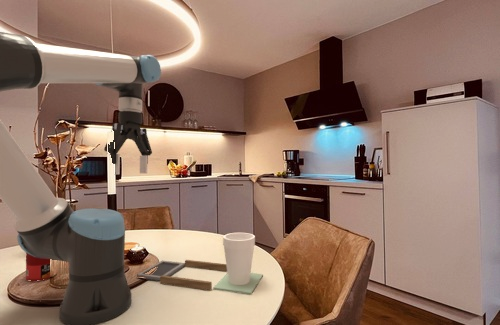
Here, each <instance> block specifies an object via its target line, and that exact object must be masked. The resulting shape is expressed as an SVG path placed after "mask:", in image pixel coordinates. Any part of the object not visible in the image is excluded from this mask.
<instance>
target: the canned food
mask: <svg viewBox="0 0 500 325" xmlns="http://www.w3.org/2000/svg"><path fill="white" fill-rule="evenodd" d="M25 278H26V280H27V281H28V280H31V281H37V280H43V279H47V280H49V279H48V278H50V259H42V258H38V257H34V256H32V255H30V254H28V253H26V252H25ZM50 279H51V278H50ZM31 281H30V282H31ZM43 281H44V280H43ZM37 282H38V281H37Z"/></svg>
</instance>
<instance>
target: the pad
mask: <svg viewBox="0 0 500 325" xmlns="http://www.w3.org/2000/svg"><path fill="white" fill-rule="evenodd" d="M262 276H263V277H264V274H263V273H257V272H256V273H254V272H251V274H250V282H248V283H247V284H244V285H233V284H231V283H229V281H228V274H227V273H226V274H225V275H224V276H223V277H221V279H220V280H219V281H218V282H217V283H216V284H215V285H214V286H213V288H212V289H213V290H214V291H215V290H217V291H222V292H230V293H237V294H245V295H251V296H252V295H253V292H254V291H255V289H256V288H257V286H258V285H259V283H260V281H261V280H262V278H263V277H262Z"/></svg>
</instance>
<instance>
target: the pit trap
mask: <svg viewBox="0 0 500 325" xmlns="http://www.w3.org/2000/svg"><path fill="white" fill-rule="evenodd" d="M157 266H158V268H157V270H156V271H155V272H154V273H153V274H152V275H148V274H145V273H147V272H149V271H150V270H151V269H153V268H155V267H157ZM183 268H186V267H185V262H178V261H170V260H161V261H159V262H157V263H155V264H153V265H151V266H150V267H148V268H146V269H145V270H143V271H140V272H139V273H137V274H136V278H137V277H146V281H154V282H158V283H160V276H162V275H164V276H172V277H173V275H175V274H176V273H177V272H179V271H181V270H182V269H183Z"/></svg>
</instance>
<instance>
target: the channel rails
mask: <svg viewBox="0 0 500 325" xmlns="http://www.w3.org/2000/svg"><path fill="white" fill-rule="evenodd" d="M184 263H185V267H184V268H194V269H201V270H202V269H203V270H209V271H210V270H211V271H220V272H227V266H226V263H221V262H220V263H218V262H211V261H210V262H209V261H200V260H193V259H185V260H184ZM159 284H160V285H161V284H162V285H168V286H175V287H183V288H190V289H198V290H204V291H211V290H212V289H213V288H212V286H213V285H212V284H213V283H212V281H210V280H209V281H208V280H201V279H195V278H194V279H193V278H186V277H185V278H184V277H178V276H173V275H172V276H164V275H162V276H160V282H159Z"/></svg>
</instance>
